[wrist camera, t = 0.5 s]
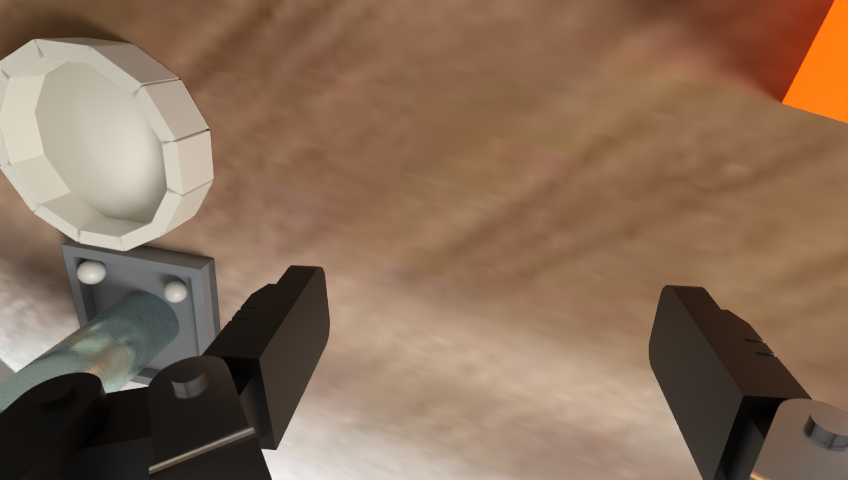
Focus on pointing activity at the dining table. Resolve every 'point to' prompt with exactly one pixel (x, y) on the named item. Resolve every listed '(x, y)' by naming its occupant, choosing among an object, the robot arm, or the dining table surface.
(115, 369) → the teal cylinder
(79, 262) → the parts tray
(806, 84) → the orange juice
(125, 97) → the bowl
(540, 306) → the dining table surface
